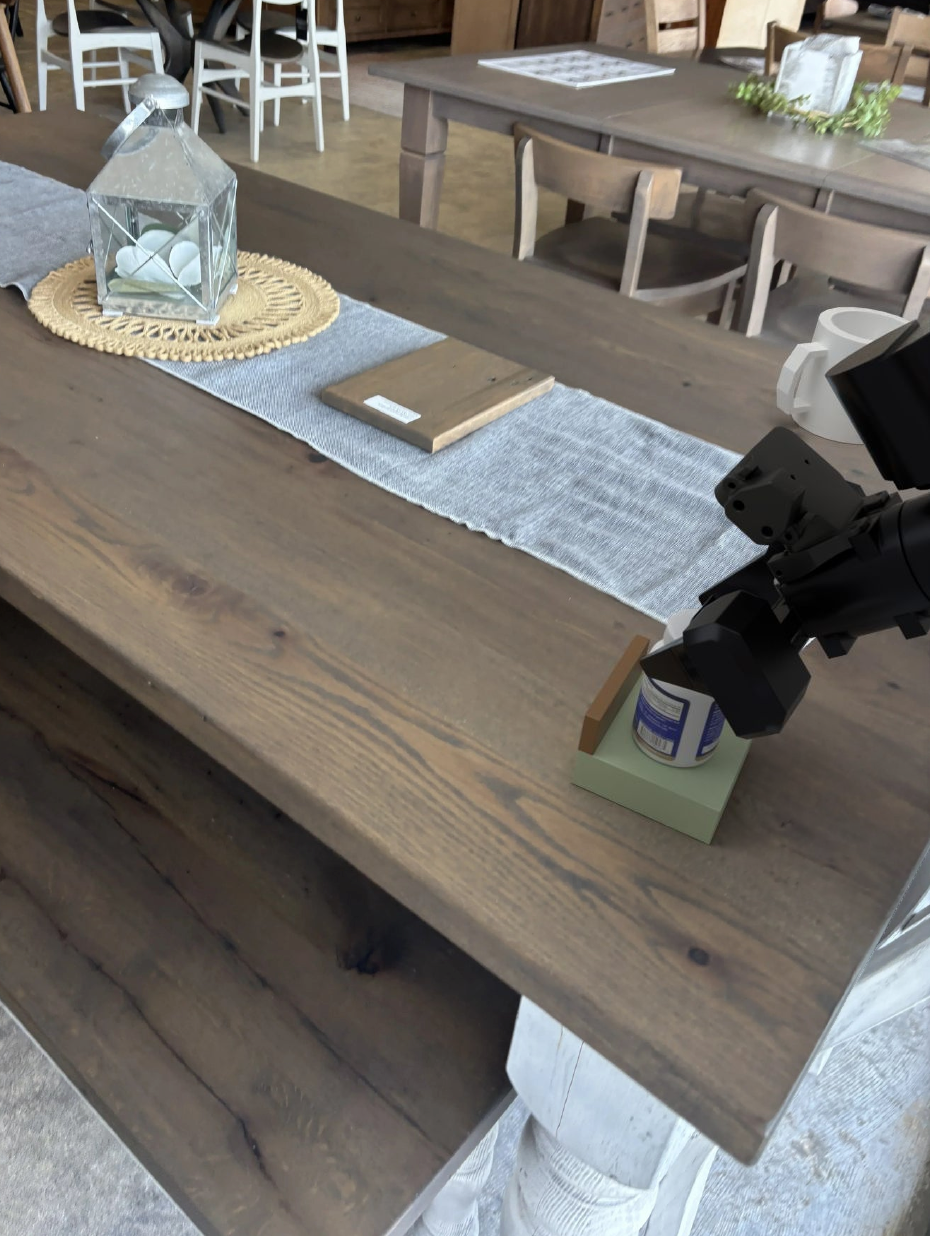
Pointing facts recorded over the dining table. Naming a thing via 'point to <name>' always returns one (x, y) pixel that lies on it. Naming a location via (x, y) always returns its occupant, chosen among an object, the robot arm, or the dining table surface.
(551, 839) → the dining table surface
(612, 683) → the low shelf
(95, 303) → the dining table surface
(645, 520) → the dining table surface
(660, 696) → the pill bottle
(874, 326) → the mug
